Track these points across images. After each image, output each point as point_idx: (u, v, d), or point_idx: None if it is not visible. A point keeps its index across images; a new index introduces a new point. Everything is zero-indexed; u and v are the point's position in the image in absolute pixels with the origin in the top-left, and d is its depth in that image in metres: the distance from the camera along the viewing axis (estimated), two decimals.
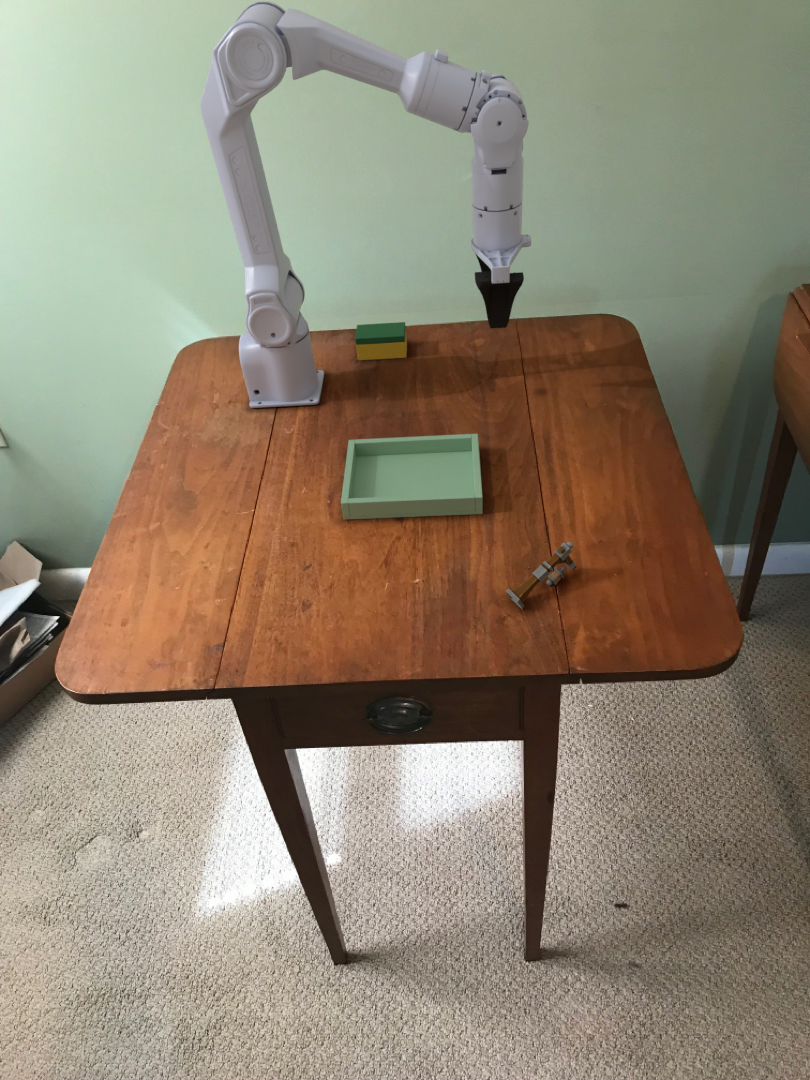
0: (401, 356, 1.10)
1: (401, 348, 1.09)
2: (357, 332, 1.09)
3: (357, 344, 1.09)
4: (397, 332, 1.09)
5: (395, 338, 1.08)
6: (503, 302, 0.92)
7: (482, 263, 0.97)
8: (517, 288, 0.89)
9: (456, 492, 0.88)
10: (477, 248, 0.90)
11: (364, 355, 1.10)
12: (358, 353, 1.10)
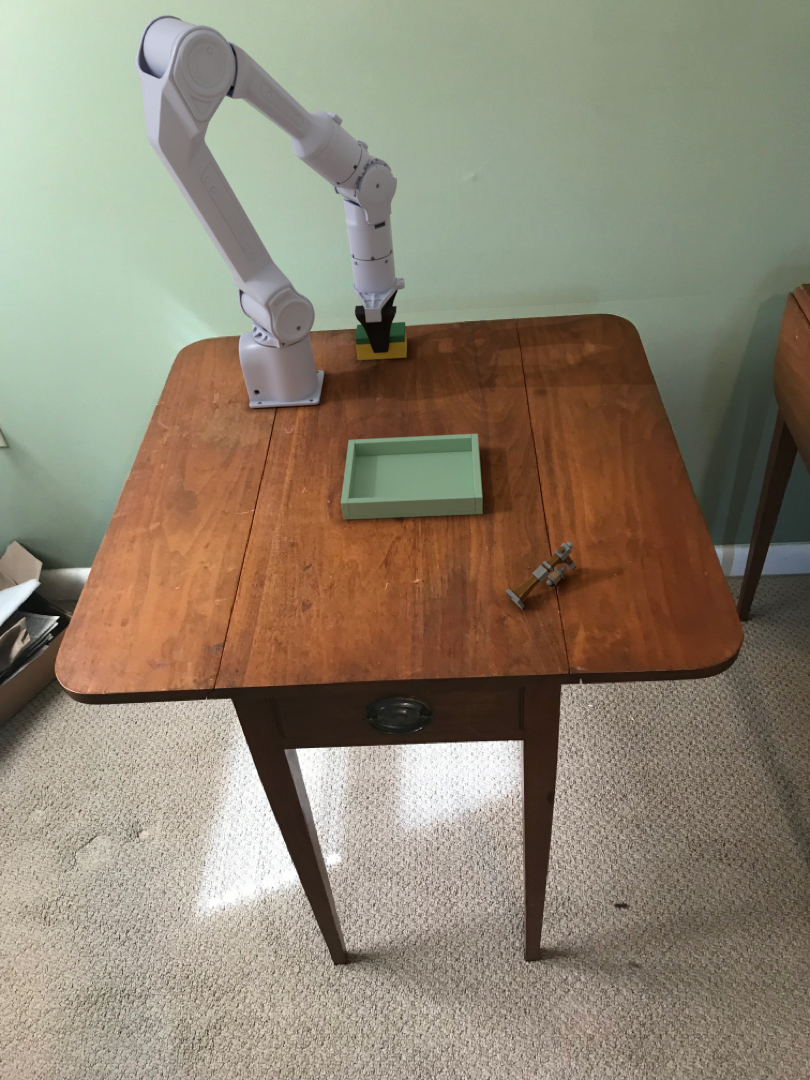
0: (401, 356, 1.10)
1: (401, 348, 1.09)
2: (357, 332, 1.09)
3: (357, 344, 1.09)
4: (397, 332, 1.09)
5: (395, 338, 1.08)
6: (382, 331, 1.06)
7: None
8: (391, 320, 1.04)
9: (456, 492, 0.88)
10: (356, 290, 1.03)
11: (364, 355, 1.10)
12: (358, 353, 1.10)
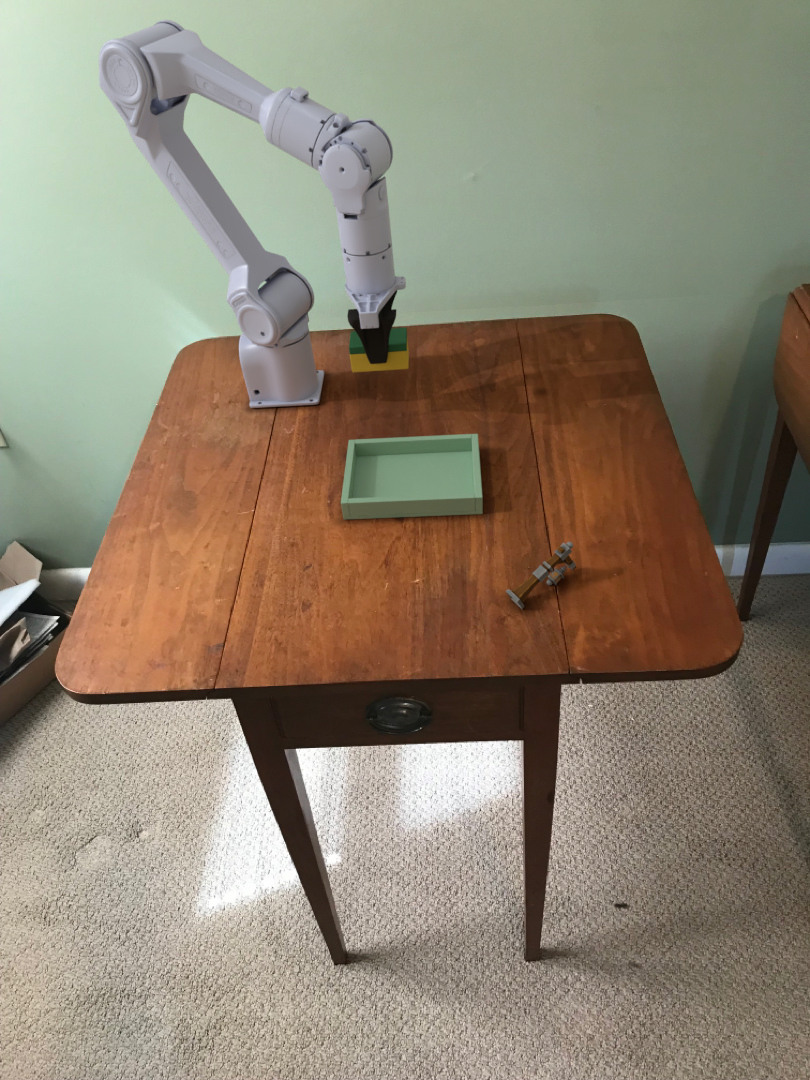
0: (402, 367, 0.95)
1: (403, 357, 0.94)
2: (351, 340, 0.94)
3: (351, 354, 0.93)
4: (398, 339, 0.93)
5: (395, 346, 0.93)
6: (379, 339, 0.91)
7: None
8: (390, 325, 0.88)
9: (456, 492, 0.88)
10: (349, 291, 0.88)
11: (360, 367, 0.95)
12: (352, 364, 0.94)
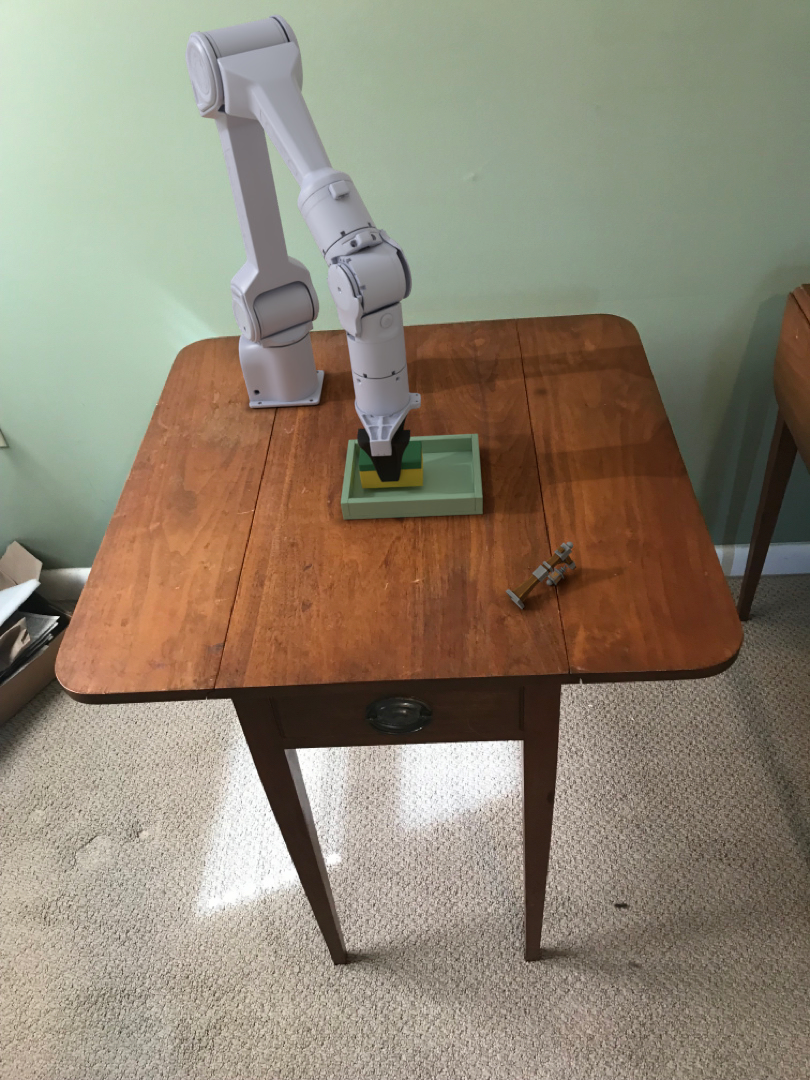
0: (416, 484, 0.88)
1: (417, 475, 0.87)
2: (361, 455, 0.87)
3: (361, 471, 0.86)
4: (412, 456, 0.86)
5: (409, 464, 0.86)
6: (392, 458, 0.84)
7: None
8: (403, 448, 0.81)
9: (456, 492, 0.88)
10: (359, 411, 0.81)
11: (370, 483, 0.88)
12: (362, 481, 0.87)
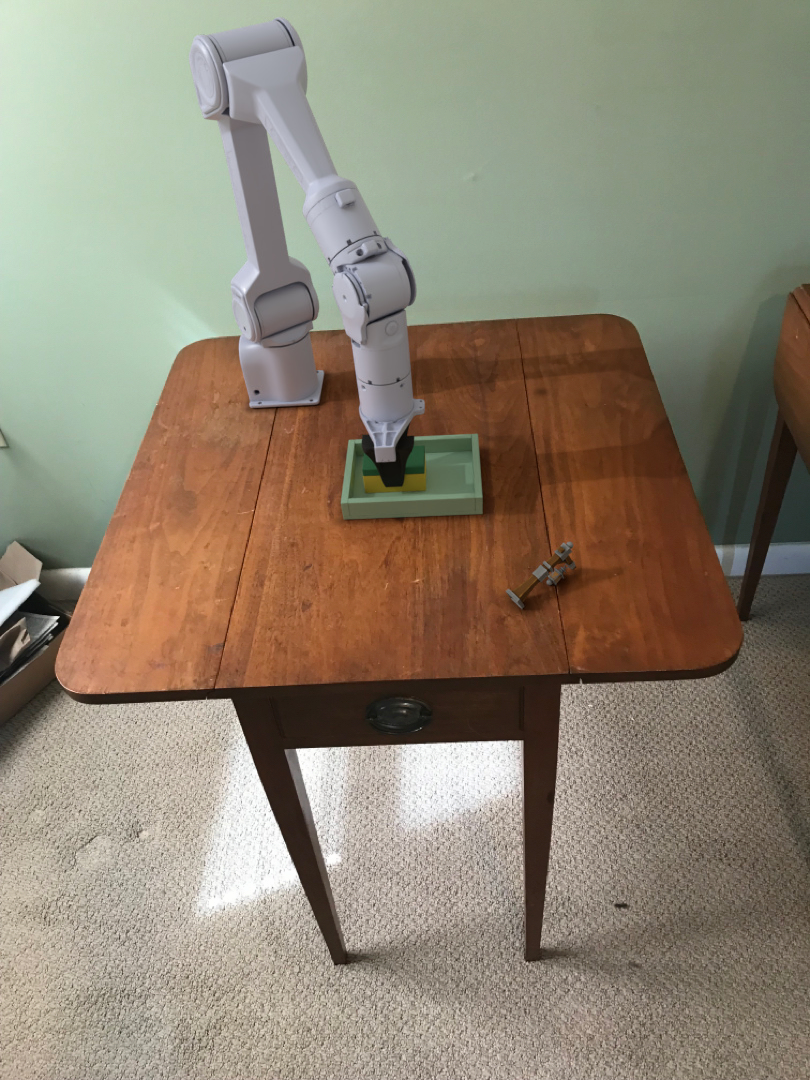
0: (419, 489, 0.88)
1: (420, 480, 0.87)
2: (365, 460, 0.87)
3: (365, 476, 0.87)
4: (415, 461, 0.87)
5: (412, 469, 0.86)
6: (396, 464, 0.85)
7: None
8: (407, 454, 0.82)
9: (456, 492, 0.88)
10: (364, 418, 0.81)
11: (374, 488, 0.88)
12: (366, 485, 0.88)
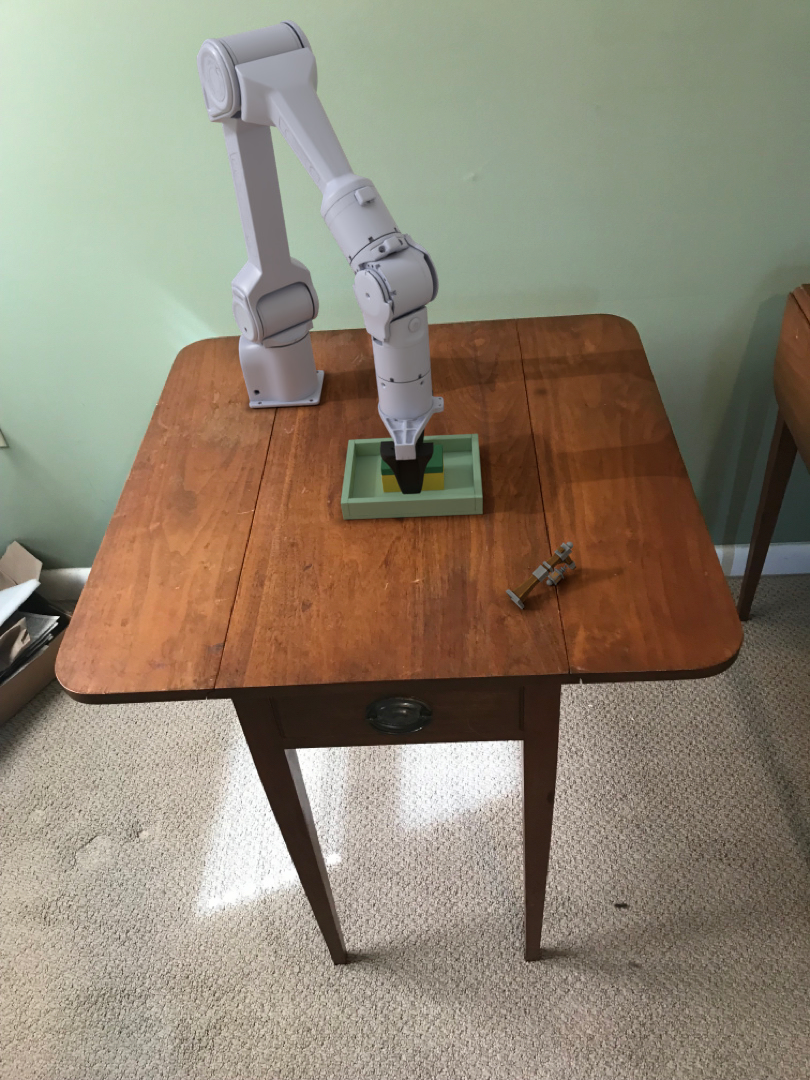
0: (438, 488, 0.88)
1: (438, 479, 0.87)
2: None
3: (383, 475, 0.87)
4: (433, 460, 0.86)
5: (431, 469, 0.86)
6: (414, 471, 0.83)
7: None
8: (426, 461, 0.80)
9: (456, 492, 0.88)
10: (383, 415, 0.81)
11: (392, 487, 0.88)
12: (384, 485, 0.88)
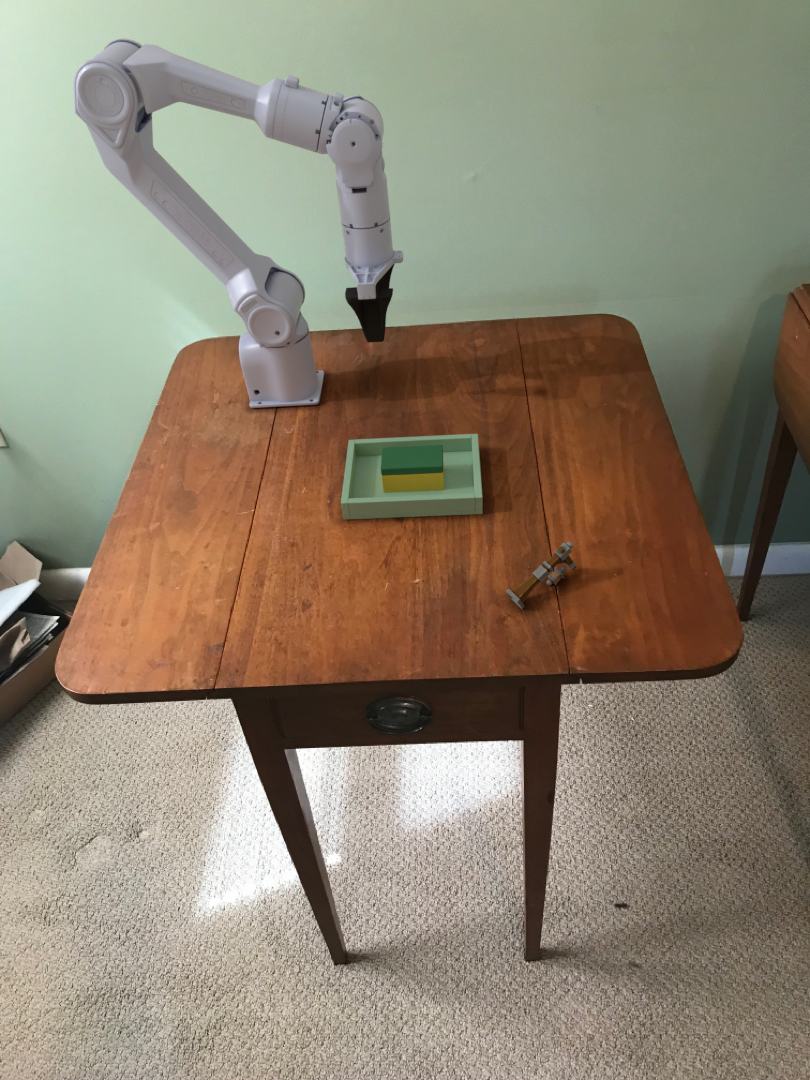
0: (438, 488, 0.88)
1: (438, 479, 0.87)
2: (383, 459, 0.87)
3: (383, 475, 0.87)
4: (433, 460, 0.86)
5: (431, 469, 0.86)
6: (376, 317, 0.93)
7: None
8: (386, 304, 0.91)
9: (456, 492, 0.88)
10: (348, 264, 0.91)
11: (392, 487, 0.88)
12: (384, 485, 0.88)
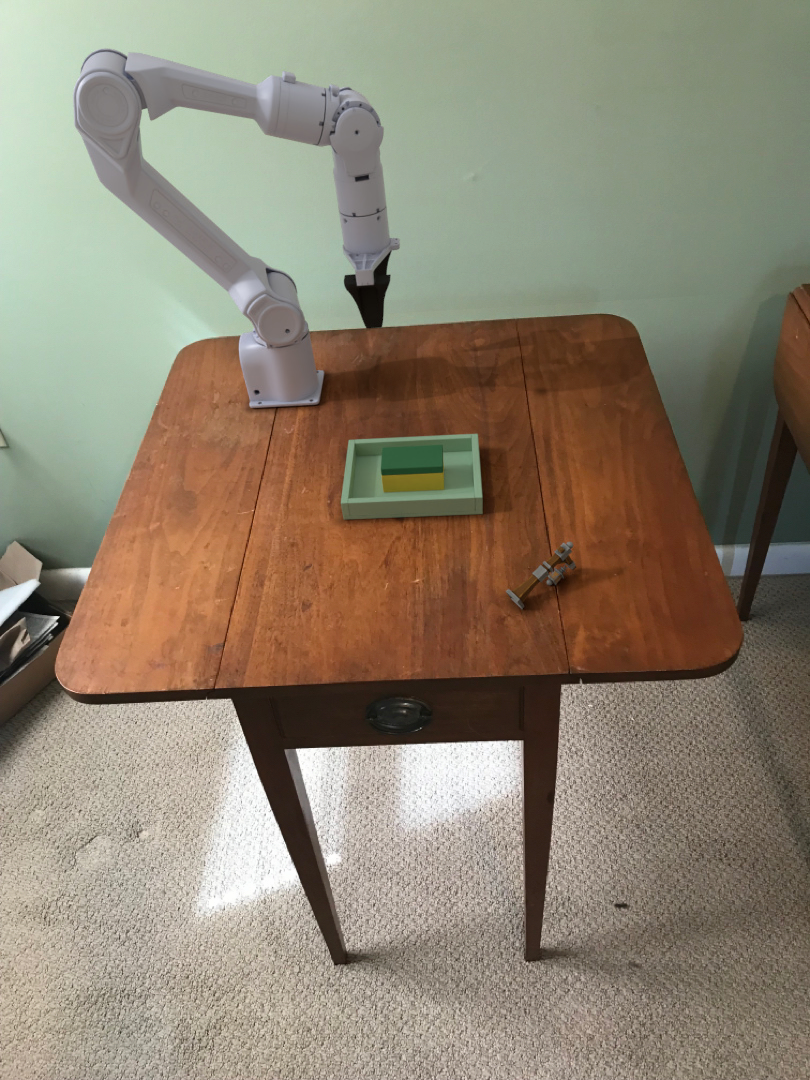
0: (438, 488, 0.88)
1: (438, 479, 0.87)
2: (383, 459, 0.87)
3: (383, 475, 0.87)
4: (433, 460, 0.86)
5: (431, 469, 0.86)
6: (375, 303, 0.96)
7: None
8: (384, 290, 0.93)
9: (456, 492, 0.88)
10: (346, 252, 0.93)
11: (392, 487, 0.88)
12: (384, 485, 0.88)
